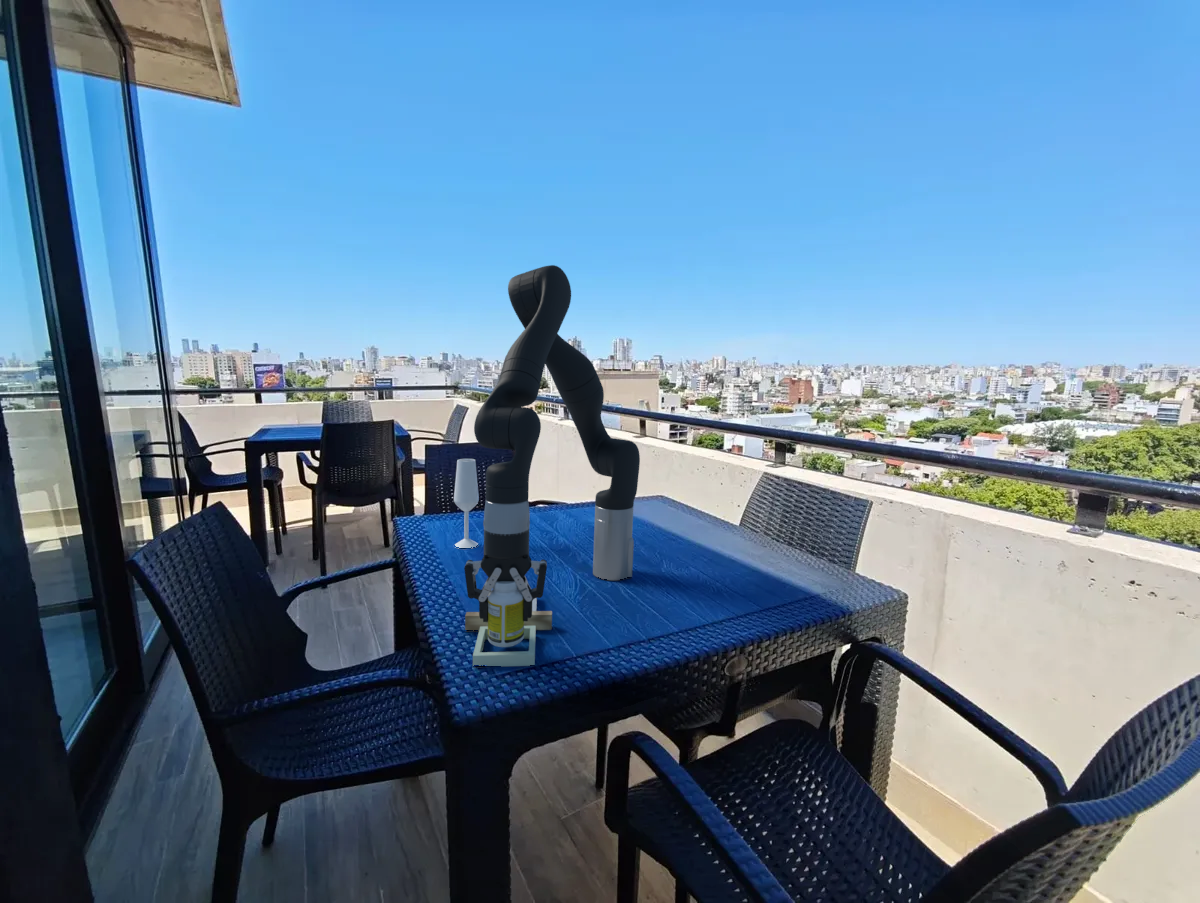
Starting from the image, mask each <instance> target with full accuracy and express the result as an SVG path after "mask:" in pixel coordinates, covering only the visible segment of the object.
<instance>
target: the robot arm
mask: <svg viewBox="0 0 1200 903" xmlns="http://www.w3.org/2000/svg"><path fill="white" fill-rule="evenodd" d="M571 287H572V286H571V283H570V281H569V278H568V276H567V275H566V272H565V271H564V270H563V269H562V268H561V267H560V266H558V265H555V264H551V265H544V266H540V267H537V268H534V269H532V270H529V271H526V272H523V273H520V274H517V275H515V276H513V277H511V278H510V279H509V281H508V285H507V294H508V298H509V301H510V304H511V306H512V309H513V310H514V313H515V315H516V316H517V318H518V320H519V322H520V323H521V325H522V327H523V328H524V329H523V331H522V332H521V333H520V335H519V336H518V337H517V338H516V339H515V341H514V342H513V343H512V345H511V346H510V348H509V349H508V351H507V354H506V355H505V357H504V359H503V360H504V361H503V364H502V367H501V371H500V374H499V378H498V381H497V384H495V386H494V388H493V389H492V390H491V393H489V396H488V397H487V398H486V400H485V401H484V403H483V404H482V405H481V407H480V408H479V410H478V412H477V415H476V417H475V420H474V429H473V430H474V431H473V432H474V436H475V439H476V441H477V442H478V444H479V445H480V446H482V447H483V448H487V449H491V450H492V449H493V450H507V451H515V452H514V453H515V454H514V456H513V458H512V459H511V460H510V461H504V462H498V463H492V464H491V465H488V467H487V469H486V472H485V503H484V504H485V505H484V511H483V524H482V526H483V557H482V558H481V560H472V559H468V560H467V561H466V563H465V564H464V567H463V568H464V576H465V584H466V592H467V597H468V598H469V599H471V600H472V599H476V600H478V604H479V606H478V610H479V611H478V612H479V617H480V619H483V622H488V595H489V593H490V591H491V590H493V586H494V584H495V583H496V581H515V582H516V584H517V586H518V588H519V590H520V591H521V592H522V594H523V596H524V621H528V618H531V616H532V601H533V599H535V598H537V599H539V598H543V595H544V589H545V583H546V576H547V567H548V563H547V560H546V559H540V561H538V560H532V558H531V556H530V524H531V521H530V520H531V518H530V512H531V511H530V505H529V483H530V482H529V480H530V479H529V478H530V472H531V466H532V462H533V457H534V454H535V451H536V449H537V448H536V447H537V444H538V441H539V438H540V435H541V429H542V425H541V424H542V423H541V420H540V416H539V415H538V413H537V412H536V411H535V410H534V409H532V408H530V407H528V406H531V405H532V404H533V403H534V402H536V400H537V397H538V394H539V392H540V387H541V383H542V382H541V381H542V378H543V373H544V369H545V366H546V368H547V371H548V372H549V374H550V376H551V378H552V381H553V383H554V385H555V387H556V389H557V391H558V393H559V396H560V397H561V400H562V401H563V403H564V405H565V407H566V409H567V411H568V413H569V415H570V417H571V419H572V421H573V424H574V425H575V428H576V430H577V432H578V436H579V437H580V440H581V442H582V446H583V448H584V451H585V454H586V458H587V460H588V462H589V464H590V466H591V468H592V469H593V471H594V472H595V473H597V474H598V475H600V476H604V477H609V478H611V480H610V486H609V488H607V489H602V490H599V491H598V492H596V494H595V498H594V499H595V500H594V504H595V505H594V527H593V528H594V529H593V530H594V532H593V556H592V560H593V561H592V575H593V576H594V577H596V578H598V577H599V578H598V579H600V578H601V579H600V580H604V579H607V580H606V581H621V580H620V579H623V580H625V579H624V578H626V579H628V578H627V577H632V578H633V564H634V547H635V546H634V543H635V541H634V540H635V539H634V538H633V527H634V523H633V522H634V506H635V503H634V502H635V498H636V496H637V492H638V485H639V483H638V482H639V473H640V464H641V463H640V460H641V458H640V457H641V455H640V450H639V448H638V445H637V444H636V443H635V442H633V441H632V440H627V439H622V438H614V437H611V436H610V435H609V434H608V431H607V430H606V427H605V425H604V423H603V420H602V410H603V406H604V404H603V403H604V398H605V396H604V395H605V394H604V393H605V391H604V387H603V384H602V382H601V379H600V377H599V375H598V373H597V370H596V368H595V366H594V364H593V363H592V361H591V360H590V359H589V358H588V357H587V356H586V355H585V354H584V353H582V352H581V351H580V350H578V349H577V348H575V347H574V346H573V345H572V344H570V343H569V342H568V341H566V339H564V338H563V337H561V335H560V334H558V333H559V331H560V328H561V326H562V324H563V322H564V320H565V317H566V315H567V313H568V311H569V308H570V304H571V302H572V301H571V300H572V288H571ZM531 568H532V569H533V571H534V574H535V575H537V580H536V587H534V588H532V587H531V586H530V584H529V581H528V579H527V577H526V575H527V573H528V572H529V570H531ZM480 569H482V571H483V572H484V573H485V575H486V576H487V579H486V580H485V583H484V584H483V587H481V589H480V588H478V587H477V578H476V575H477V574H478V573H479V570H480Z"/></svg>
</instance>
